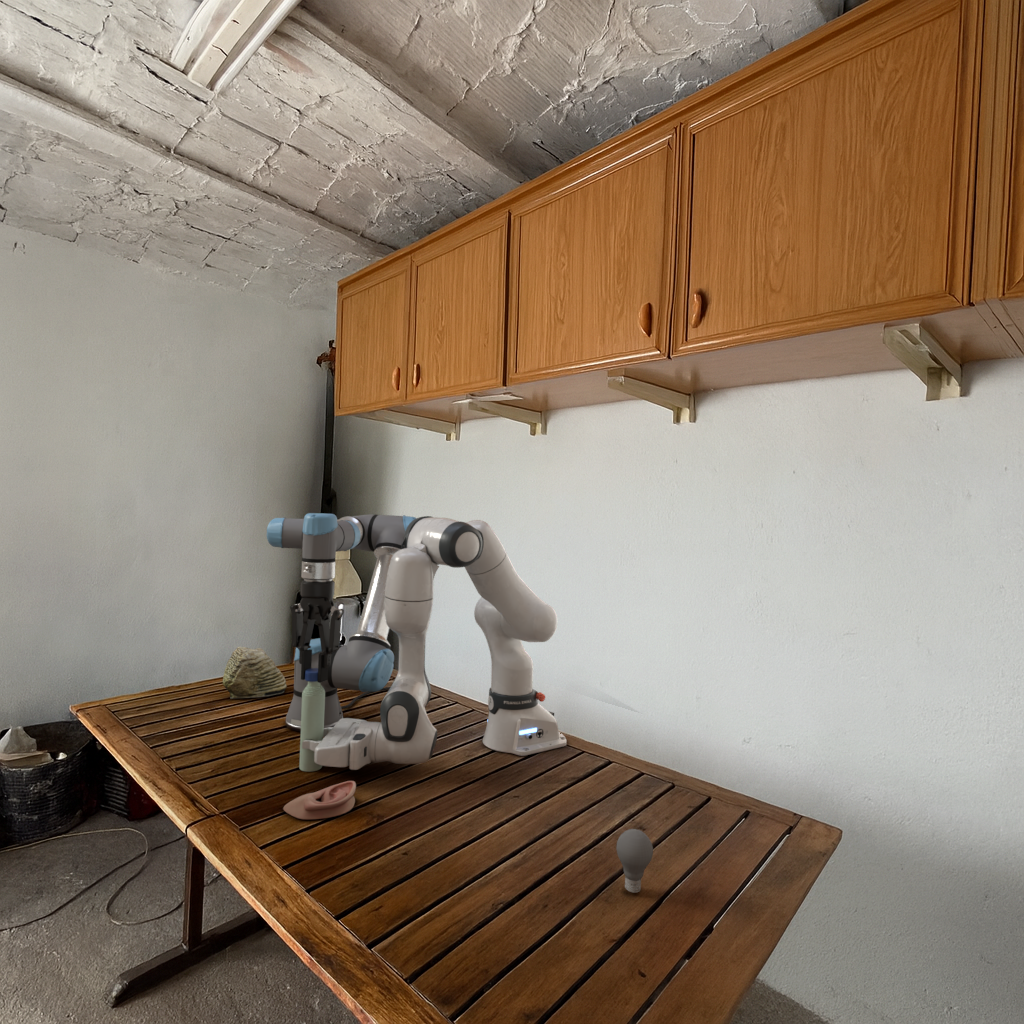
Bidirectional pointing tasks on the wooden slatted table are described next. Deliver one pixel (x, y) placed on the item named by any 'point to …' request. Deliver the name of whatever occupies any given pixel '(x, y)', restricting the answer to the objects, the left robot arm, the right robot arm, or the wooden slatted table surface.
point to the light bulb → (634, 857)
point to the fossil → (252, 674)
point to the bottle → (311, 723)
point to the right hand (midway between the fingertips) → (308, 738)
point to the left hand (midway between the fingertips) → (314, 679)
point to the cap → (311, 675)
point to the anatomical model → (323, 802)
